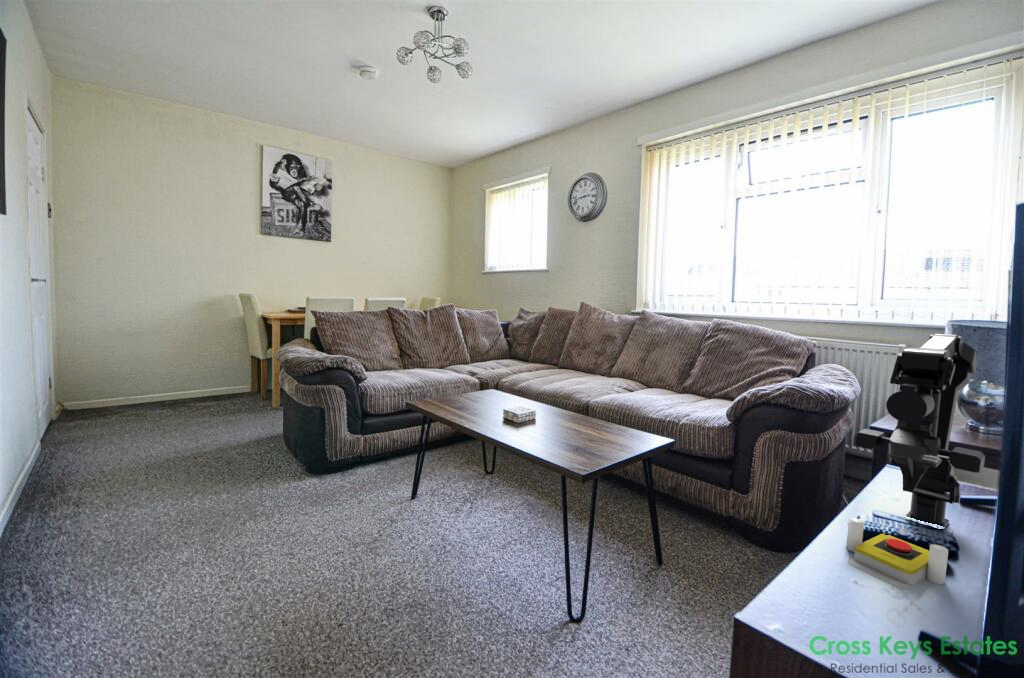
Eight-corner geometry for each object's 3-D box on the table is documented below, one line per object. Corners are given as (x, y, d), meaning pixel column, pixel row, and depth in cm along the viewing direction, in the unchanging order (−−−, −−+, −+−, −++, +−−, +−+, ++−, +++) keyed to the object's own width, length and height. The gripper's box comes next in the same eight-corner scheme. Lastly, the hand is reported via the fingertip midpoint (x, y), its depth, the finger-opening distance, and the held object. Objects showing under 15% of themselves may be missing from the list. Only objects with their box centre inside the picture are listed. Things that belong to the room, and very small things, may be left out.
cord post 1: (848, 544, 93) (851, 516, 92) (862, 549, 91) (865, 521, 90) (844, 548, 91) (847, 520, 91) (859, 554, 89) (862, 525, 89)
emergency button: (945, 547, 85) (907, 569, 78) (943, 569, 86) (905, 593, 79) (886, 524, 93) (846, 543, 86) (884, 545, 94) (845, 565, 87)
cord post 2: (928, 574, 83) (931, 542, 83) (946, 580, 81) (949, 548, 81) (924, 578, 82) (928, 547, 81) (943, 585, 80) (946, 553, 79)
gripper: (847, 410, 91) (840, 484, 93) (979, 433, 77) (969, 521, 78) (865, 402, 98) (859, 472, 100) (989, 422, 83) (980, 503, 85)
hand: (910, 490), depth 91 cm, fingers closed
